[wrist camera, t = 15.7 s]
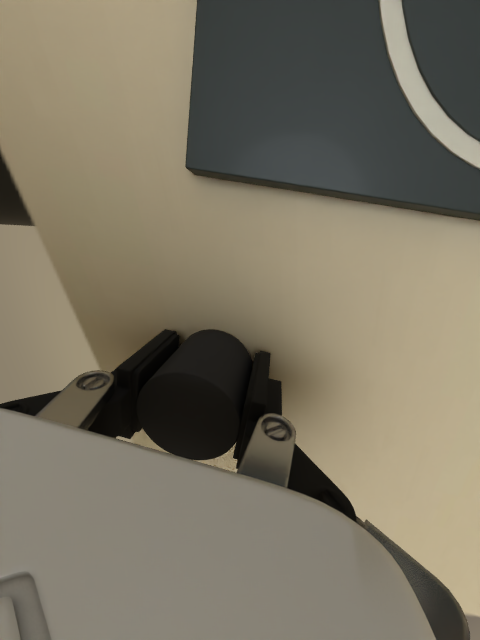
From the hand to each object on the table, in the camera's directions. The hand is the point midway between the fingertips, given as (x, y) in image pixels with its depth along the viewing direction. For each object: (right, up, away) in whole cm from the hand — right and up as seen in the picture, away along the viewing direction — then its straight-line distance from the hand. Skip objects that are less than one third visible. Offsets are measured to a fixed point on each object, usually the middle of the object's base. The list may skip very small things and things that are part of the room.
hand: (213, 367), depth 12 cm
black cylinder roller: (0, 0, 0) cm, 0 cm away
